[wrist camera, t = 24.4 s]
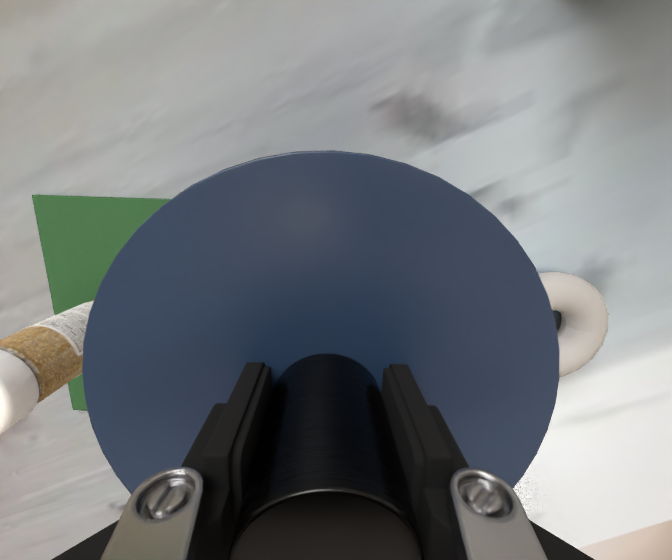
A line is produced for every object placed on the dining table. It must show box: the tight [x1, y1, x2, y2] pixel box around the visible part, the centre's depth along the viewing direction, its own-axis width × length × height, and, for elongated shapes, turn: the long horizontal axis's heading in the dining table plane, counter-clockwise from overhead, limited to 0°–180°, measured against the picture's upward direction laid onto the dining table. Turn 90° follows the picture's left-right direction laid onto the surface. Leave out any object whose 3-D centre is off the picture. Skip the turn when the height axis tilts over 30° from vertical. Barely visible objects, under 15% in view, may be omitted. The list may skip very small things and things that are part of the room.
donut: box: [538, 272, 609, 377], centre depth 29 cm, size 10×4×10 cm
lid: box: [82, 150, 560, 560], centre depth 9 cm, size 16×16×6 cm
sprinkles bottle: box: [0, 300, 94, 434], centre depth 22 cm, size 5×5×13 cm
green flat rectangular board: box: [32, 195, 171, 410], centre depth 29 cm, size 20×12×1 cm, turn 178°
